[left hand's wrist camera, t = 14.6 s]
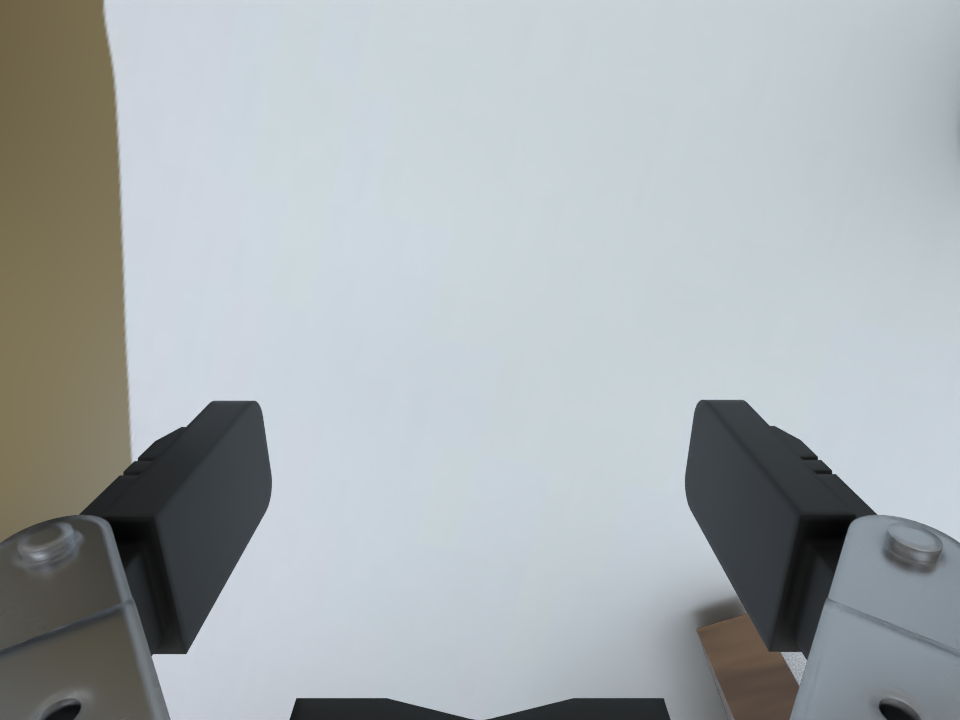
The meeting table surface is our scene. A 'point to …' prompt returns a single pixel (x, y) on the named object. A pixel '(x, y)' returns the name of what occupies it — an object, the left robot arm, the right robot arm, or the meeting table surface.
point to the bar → (748, 671)
